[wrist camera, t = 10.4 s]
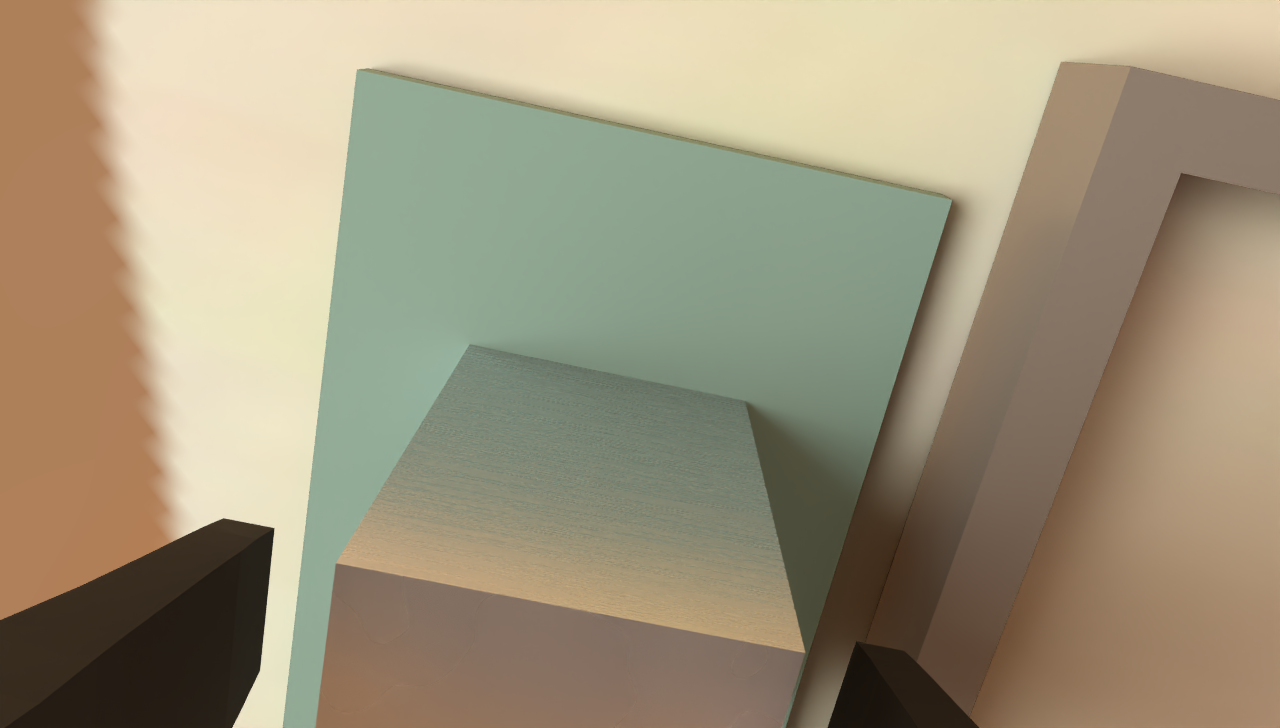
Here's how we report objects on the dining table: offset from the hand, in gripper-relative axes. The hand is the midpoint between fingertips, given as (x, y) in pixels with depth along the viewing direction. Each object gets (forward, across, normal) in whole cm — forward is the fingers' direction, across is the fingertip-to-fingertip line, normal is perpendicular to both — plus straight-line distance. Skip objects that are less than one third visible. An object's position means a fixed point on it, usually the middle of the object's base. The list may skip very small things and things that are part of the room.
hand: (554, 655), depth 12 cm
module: (+3, 0, 0) cm, 3 cm away
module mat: (+3, 0, 0) cm, 3 cm away
